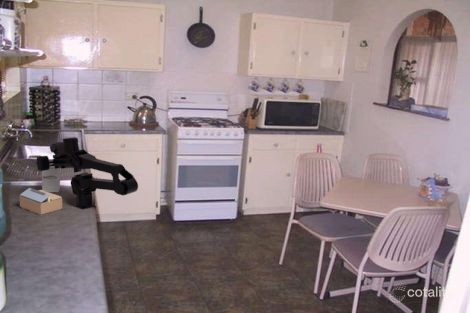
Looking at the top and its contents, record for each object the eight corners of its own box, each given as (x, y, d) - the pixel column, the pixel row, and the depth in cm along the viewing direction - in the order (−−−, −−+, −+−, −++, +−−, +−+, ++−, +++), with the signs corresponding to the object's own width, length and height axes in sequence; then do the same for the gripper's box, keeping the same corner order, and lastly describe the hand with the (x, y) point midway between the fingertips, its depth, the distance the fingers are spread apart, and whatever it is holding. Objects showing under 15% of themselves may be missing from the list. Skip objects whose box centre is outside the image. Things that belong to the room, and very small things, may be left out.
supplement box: (41, 192, 204) (41, 166, 201) (44, 188, 211) (43, 162, 208) (58, 192, 206) (58, 166, 203) (60, 187, 213) (60, 162, 210)
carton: (62, 209, 185) (62, 194, 183) (40, 215, 176) (40, 199, 175) (41, 201, 192) (41, 187, 190) (19, 207, 183) (19, 192, 182)
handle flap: (50, 195, 179) (49, 194, 178) (40, 202, 175) (40, 201, 175) (29, 188, 185) (29, 187, 185) (20, 195, 182) (19, 194, 182)
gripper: (83, 141, 199) (59, 142, 206) (48, 144, 182) (24, 145, 190) (85, 166, 200) (62, 166, 207) (50, 171, 183) (26, 171, 191)
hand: (44, 161), depth 199 cm, fingers open, 9 cm apart
